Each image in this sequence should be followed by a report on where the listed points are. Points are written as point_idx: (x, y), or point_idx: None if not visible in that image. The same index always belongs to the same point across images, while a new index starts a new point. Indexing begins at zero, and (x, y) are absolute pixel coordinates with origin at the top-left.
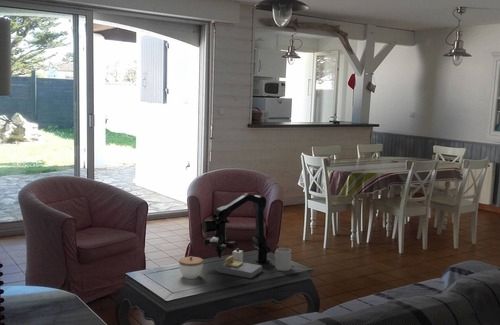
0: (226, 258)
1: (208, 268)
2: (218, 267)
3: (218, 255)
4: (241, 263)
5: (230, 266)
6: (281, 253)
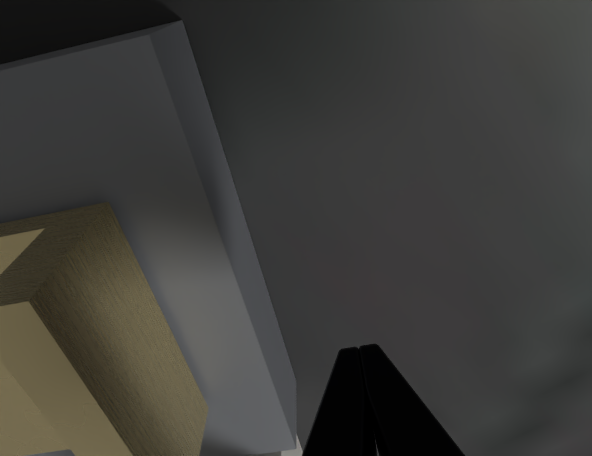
0: (47, 355)
1: (491, 59)
2: (153, 32)
3: (401, 387)
4: None
5: None
6: None
